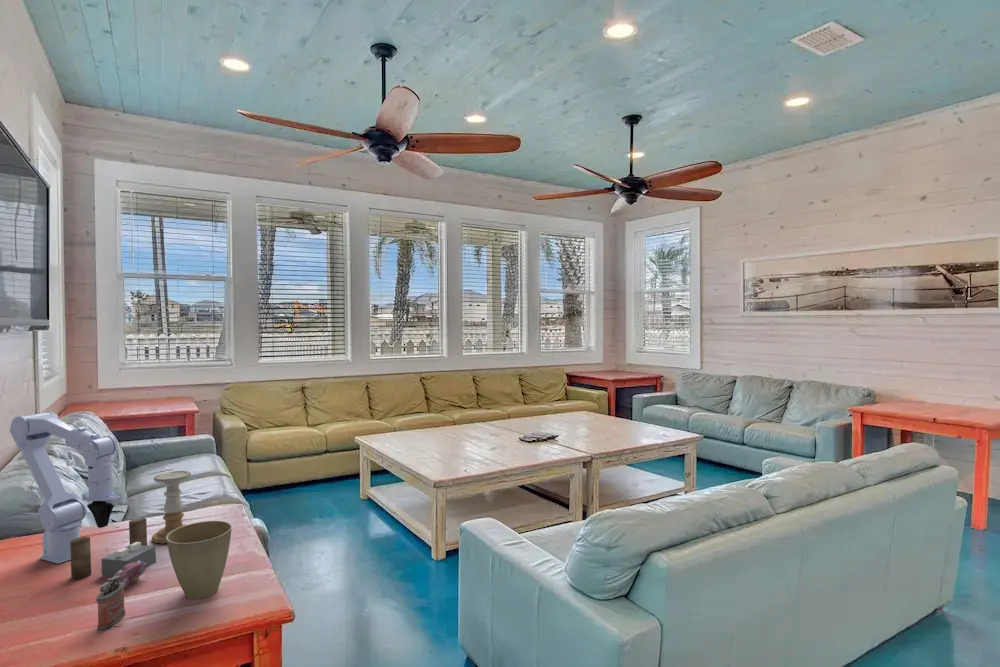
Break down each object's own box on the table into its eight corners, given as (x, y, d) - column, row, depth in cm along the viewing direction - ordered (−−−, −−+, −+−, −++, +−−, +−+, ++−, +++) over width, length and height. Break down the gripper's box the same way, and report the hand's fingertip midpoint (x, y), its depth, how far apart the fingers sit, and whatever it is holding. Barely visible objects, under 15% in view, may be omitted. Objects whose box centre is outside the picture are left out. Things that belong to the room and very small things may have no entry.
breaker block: (102, 576, 156) (101, 553, 156) (131, 561, 166) (131, 538, 166) (127, 579, 154) (126, 555, 154) (155, 563, 164) (155, 540, 164)
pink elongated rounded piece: (113, 600, 145) (123, 577, 145) (99, 591, 146) (109, 568, 145) (143, 582, 155) (153, 560, 154) (130, 574, 156) (140, 552, 155)
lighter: (114, 613, 136) (113, 571, 136) (129, 612, 136) (128, 571, 136) (93, 631, 128) (91, 588, 128) (109, 630, 128) (107, 587, 128)
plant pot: (172, 585, 150) (170, 525, 149) (234, 575, 156) (232, 517, 155) (163, 612, 136) (161, 546, 136) (232, 599, 142) (230, 536, 141)
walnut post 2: (126, 555, 169) (125, 522, 169) (140, 549, 174) (140, 517, 173) (136, 557, 168) (135, 524, 167) (150, 551, 172) (149, 519, 171)
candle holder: (182, 544, 177) (180, 480, 176) (142, 544, 177) (141, 480, 177) (203, 529, 189) (201, 469, 189) (166, 529, 190) (164, 469, 189)
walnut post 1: (67, 578, 155) (66, 541, 155) (84, 571, 159) (83, 535, 159) (77, 580, 153) (76, 544, 153) (94, 574, 157) (93, 538, 157)
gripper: (69, 481, 163) (72, 528, 164) (101, 485, 158) (104, 534, 158) (95, 475, 170) (97, 520, 170) (127, 479, 164) (129, 525, 164)
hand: (102, 526), depth 164 cm, fingers closed
